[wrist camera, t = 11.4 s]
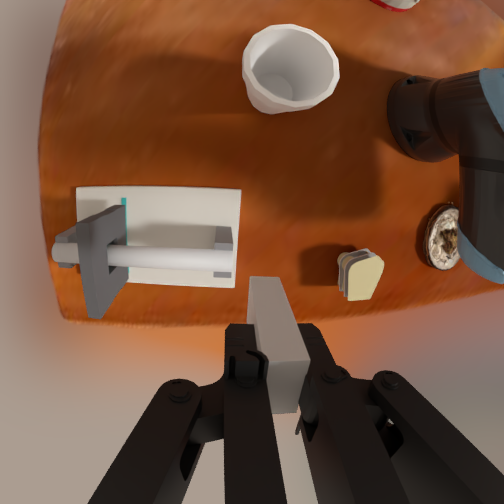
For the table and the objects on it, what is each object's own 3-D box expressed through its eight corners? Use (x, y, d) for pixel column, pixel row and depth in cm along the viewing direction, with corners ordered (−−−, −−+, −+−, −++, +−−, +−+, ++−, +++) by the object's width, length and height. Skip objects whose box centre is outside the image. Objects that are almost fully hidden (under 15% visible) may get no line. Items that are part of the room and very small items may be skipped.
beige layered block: (367, 291, 45) (382, 306, 40) (321, 294, 44) (332, 311, 39) (377, 235, 42) (395, 245, 37) (328, 235, 41) (342, 245, 36)
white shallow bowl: (473, 232, 45) (486, 238, 41) (435, 285, 47) (447, 294, 43) (447, 181, 40) (462, 184, 36) (403, 240, 43) (417, 247, 39)
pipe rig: (80, 186, 34) (40, 197, 24) (240, 189, 37) (247, 199, 27) (86, 274, 39) (55, 306, 28) (234, 283, 42) (238, 322, 31)
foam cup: (275, 53, 31) (297, 11, 19) (316, 100, 34) (357, 77, 22) (222, 89, 33) (222, 54, 20) (265, 138, 35) (287, 125, 23)
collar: (114, 204, 32) (75, 223, 22) (125, 204, 32) (88, 223, 22) (119, 277, 35) (88, 317, 25) (128, 278, 35) (100, 319, 25)
